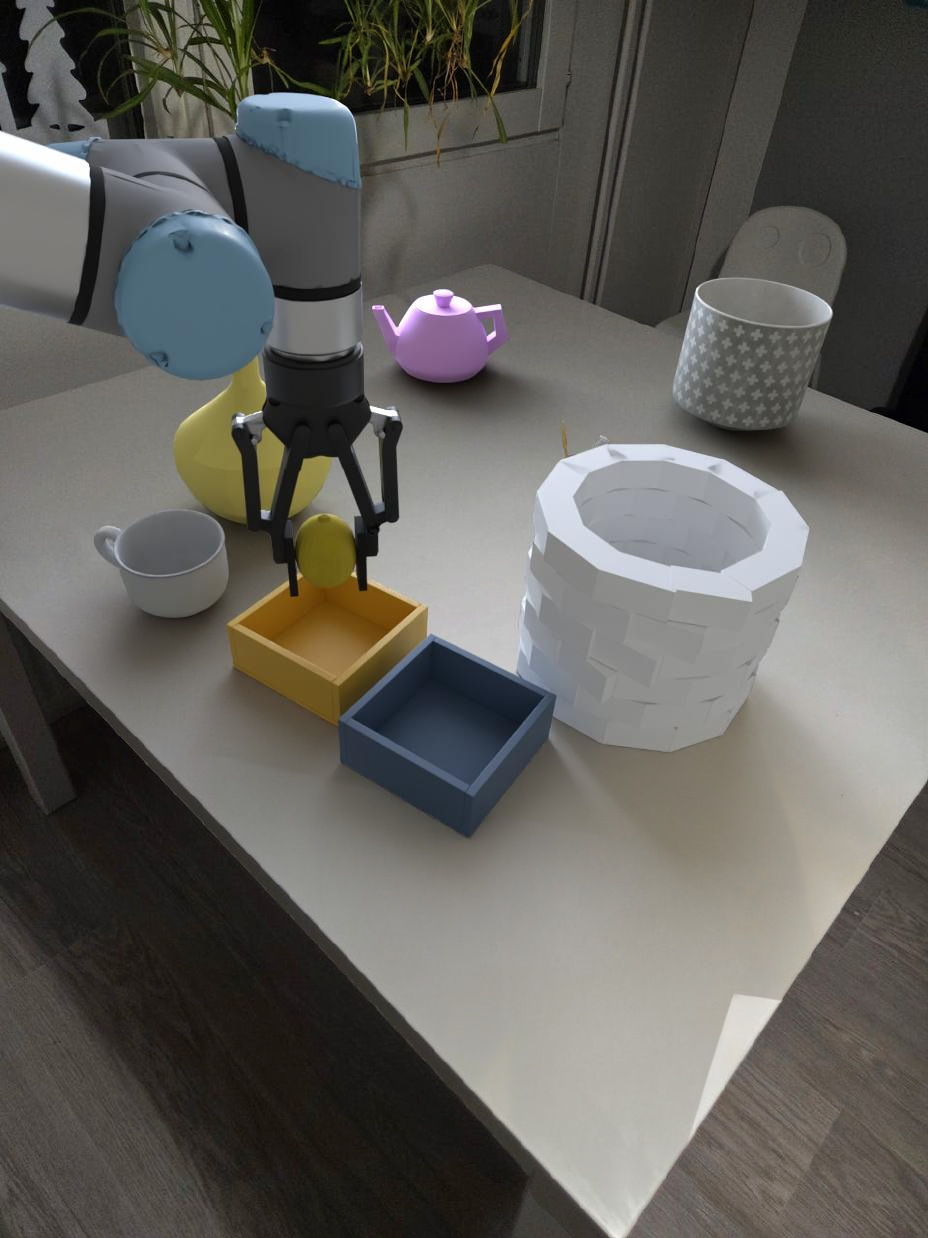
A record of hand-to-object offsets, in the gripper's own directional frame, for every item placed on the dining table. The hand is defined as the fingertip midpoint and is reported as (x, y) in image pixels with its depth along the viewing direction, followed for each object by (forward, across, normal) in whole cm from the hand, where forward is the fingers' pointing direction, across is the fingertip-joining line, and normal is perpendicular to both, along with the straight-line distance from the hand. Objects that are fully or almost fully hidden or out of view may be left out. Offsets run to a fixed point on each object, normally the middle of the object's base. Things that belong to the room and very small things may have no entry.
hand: (328, 584), depth 76 cm
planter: (+10, -65, -45) cm, 80 cm away
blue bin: (+9, -9, +13) cm, 19 cm away
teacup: (+10, +16, -12) cm, 22 cm away
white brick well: (+10, -30, +6) cm, 32 cm away
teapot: (+10, -23, -67) cm, 72 cm away
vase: (+10, +6, -29) cm, 31 cm away
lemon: (+1, 0, 0) cm, 1 cm away
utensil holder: (+10, -32, -23) cm, 41 cm away
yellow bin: (+9, 0, 0) cm, 9 cm away
